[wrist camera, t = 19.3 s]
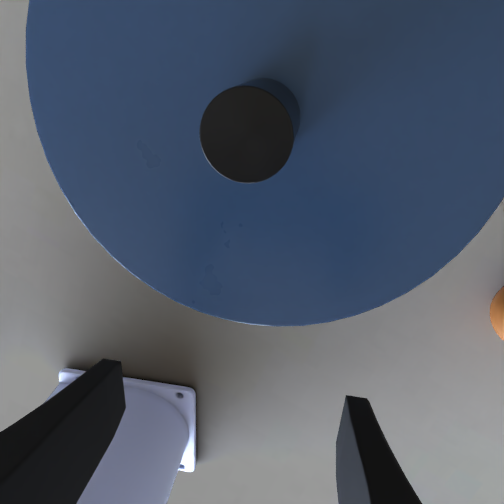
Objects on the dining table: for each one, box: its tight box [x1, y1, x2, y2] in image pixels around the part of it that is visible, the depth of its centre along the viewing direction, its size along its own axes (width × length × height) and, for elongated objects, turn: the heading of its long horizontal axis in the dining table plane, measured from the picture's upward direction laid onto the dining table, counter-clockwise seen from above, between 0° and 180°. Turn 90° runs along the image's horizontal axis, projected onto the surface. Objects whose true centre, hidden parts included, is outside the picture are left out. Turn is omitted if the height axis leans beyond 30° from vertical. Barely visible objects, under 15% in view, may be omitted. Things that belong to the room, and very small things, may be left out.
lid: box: [26, 0, 504, 326], centre depth 12 cm, size 17×17×5 cm
